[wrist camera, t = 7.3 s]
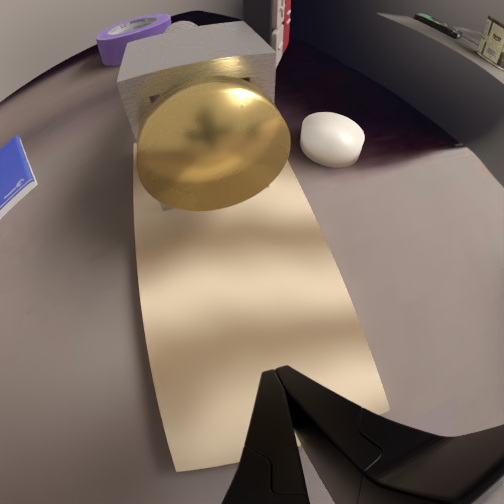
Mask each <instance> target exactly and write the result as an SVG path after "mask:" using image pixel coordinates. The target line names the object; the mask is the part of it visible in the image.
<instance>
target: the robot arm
mask: <svg viewBox="0 0 504 504" xmlns="http://www.w3.org/2000/svg"><path fill="white" fill-rule="evenodd" d="M295 434H296V436H297V437H298V439H299V441H300V443H301V445H302V447H303V448H304V450H305V452H306V454H307V456H308V457H309V459H310V461H311V463H312V465H313V466H314V468H315V470H316V472H317V473H318V475H319V477H320V479H321V480H322V482H323V484H324V485H325V487H326V489H327V491H328V492H329V494H330V496H331V497H332V499H333V501H334V502H335V504H504V424H503V425H500V426H497V427H493V428H490V429H486V430H482V431H479V432H475V433H471V434H466V435H462V436H456V437H446V436H439V435H435V434H431V433H428V432H425V431H422V430H418V429H415V428H412V427H409V426H406V425H403V424H400V423H397V422H394V421H392V420H389V419H387V418H384V417H382V416H380V415H378V414H376V413H373V412H371V411H369V410H368V409H366V408H362V407H361V406H360V405H358V404H356V403H354V402H352V401H350V400H348V399H346V398H345V397H343V396H341V395H339V394H337V393H335V392H334V391H332V390H330V389H328V388H326V387H325V386H323V385H321V384H319V383H318V382H316V381H314V380H312V379H311V378H309V377H307V376H306V375H304V374H302V373H300V372H299V371H297V370H295V369H294V368H292V367H290V366H289V365H284V366H281V367H278V368H276V369H275V370H274V369H271V370H267V371H263V372H262V373H261V377H260V381H259V386H258V390H257V394H256V399H255V403H254V407H253V411H252V415H251V419H250V423H249V427H248V431H247V435H246V439H245V443H244V447H243V451H242V454H241V458H240V461H239V464H238V468H237V470H236V473H235V475H234V478H233V480H232V482H231V485H230V487H229V489H228V491H227V493H226V495H225V497H224V499H223V501H222V503H221V504H310V502H309V497H308V493H307V488H306V483H305V478H304V474H303V469H302V464H301V460H300V455H299V450H298V446H297V441H296V436H295Z"/></svg>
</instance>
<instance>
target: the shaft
mask: <svg viewBox="0 0 504 504" xmlns="http://www.w3.org/2000/svg"><path fill="white" fill-rule="evenodd" d="M193 27H198V26H197V25H196V24H194V23H192V22H189V21H179V22H176V23H173V24H171V25H170V26H169V27H167V29H166V30H165V31H164V33H167V32H172V31H177V30H182V29H187V28H193ZM290 147H291V139H290V133H289V130H288V127H287V125H286V123H285V121H284V119H283V118H282V116H281V114H280V113H279V111H278V110H277V108H276V106H275V105H274V103H273V102H272V100H271V99H270V98H269V96H268V95H267V94H266V93H265V92H264V91H263V90H261V89H260V88H259V87H257V86H256V85H254V84H252V83H250V82H248V81H246V80H243V79H240V78H236V77H232V76H224V75H211V76H203V77H198V78H194V79H190V80H187V81H185V82H182V83H180V84H178V85H176V86H174V87H172V88H170V89H169V90H167V91H166V92H165V93H163V94H162V95H161V96H160V97H158V98H157V99H156V100H155V101H154V102H153V103H152V105H151V106H150V107H149V108H148V109H147V111H146V113H145V114H144V116H143V118H142V120H141V122H140V125H139V128H138V133H137V150H136V166H137V173H138V176H139V179H140V182H141V183H142V185H143V187H144V188H145V190H146V191H147V192H148V193H149V194H150V195H151V196H152V197H153V198H155V199H156V200H158V201H159V202H161V203H163V204H165V205H167V206H170V207H173V208H176V209H180V210H186V211H211V210H218V209H223V208H227V207H230V206H233V205H236V204H239V203H241V202H243V201H246V200H248V199H250V198H251V197H253V196H255V195H257V194H258V193H260V192H261V191H262V190H264V189H265V188H266V187H268V186H269V185H270V184H271V183H272V182H273V181H274V180H275V179H276V177H277V176H278V175H279V174H280V172H281V171H282V169H283V168H284V166H285V164H286V162H287V159H288V156H289V153H290Z"/></svg>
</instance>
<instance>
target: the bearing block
mask: <svg viewBox="0 0 504 504" xmlns="http://www.w3.org/2000/svg"><path fill="white" fill-rule="evenodd" d="M275 70H276V52H275V51H274V50H273V49H272V48H271V47H270V46H269V45H268V44H267V43H266V42H265V41H264V40H263V39H262V38H261V37H260V36H259V35H258V34H257V33H256V32H255V31H254V30H253V29H252V28H251V27H249V26H248V25H247V24H246V23H245V22H244V21H238V22H228V23H220V24H212V25H205V26H199V27H193V28H187V29H182V30H177V31H172V32H167V33H163V34H159V35H155V36H151V37H147V38H143V39H139V40H136V41H132V42H129V43H127V46H126V49H125V52H124V56H123V60H122V63H121V67H120V71H119V75H118V79H117V85H118V89H119V92H120V95H121V98H122V101H123V104H124V107H125V110H126V113H127V116H128V119H129V122H130V125H131V128H132V131H133V134H134V136H135V139H136V142H137V133H138V128H139V125H140V122H141V120H142V118H143V116H144V114H145V113H146V111H147V109H148V108H149V107H150V106H151V105H152V103H153V102H154V101H155V100H156V99H157V98H158V97H160V95H159V94H161V93H165V92H166V91H167V90H169V89H170V88H172V87H174V86H176V85H178V84H180V83H182V82H185V81H187V80H190V79H194V78H198V77H203V76H211V75H224V76H232V77H236V78H240V79H243V80H246V81H248V82H250V83H252V84H254V85H256V86H257V87H259V88H260V89H261V90H263V91H264V92H265V93H266V94H267V95H268V96H269V98H270V99H271V100H272V102H273V103H274V93H275ZM269 187H270V185H269V186H268V187H266V188H269ZM159 203H160V205H161V207H162V210H163V211H167V210H171V209H175V208H173V207H170V206H167V205H165V204H163V203H161V202H159Z"/></svg>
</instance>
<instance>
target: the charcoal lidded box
mask: <svg viewBox="0 0 504 504" xmlns="http://www.w3.org/2000/svg"><path fill="white" fill-rule="evenodd" d="M290 4H291V0H243V18H244V19H243V21H244V22H245V23H246V24H247V25H248V26H249V27H251V28H252V29H253V30H254V31H255V32H256V33H257V34H258V35H259V36H260V37H261V38H262V39H263V40H264V41H265V42H266V43H267V44H268V45H269V46H270V47H271V48H272V49H273V50H274V51H275V52H276V67H277V65H278V63H279V61H280V59H281V57H282V54H283V53H284V51H285V49H286V47H287V45H288V40H289V23H290V12H291V10H290Z"/></svg>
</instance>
